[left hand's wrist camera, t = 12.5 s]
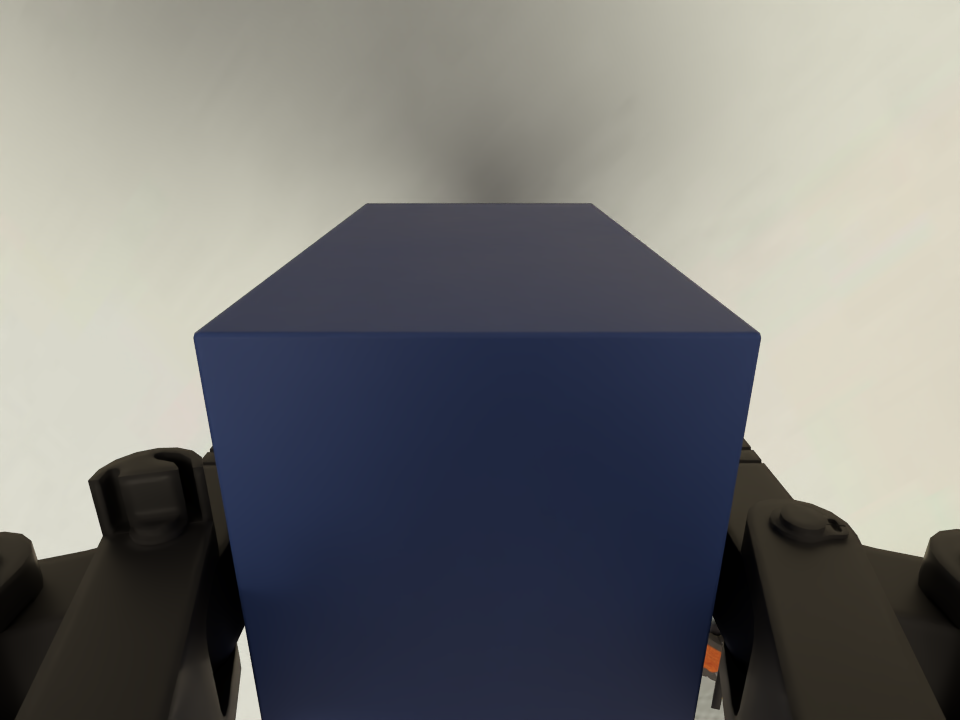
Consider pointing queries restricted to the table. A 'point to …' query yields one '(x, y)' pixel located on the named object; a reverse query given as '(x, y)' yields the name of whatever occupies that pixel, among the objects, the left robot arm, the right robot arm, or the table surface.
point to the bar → (477, 467)
